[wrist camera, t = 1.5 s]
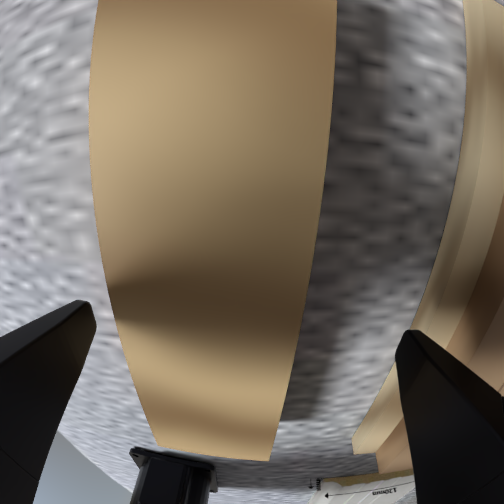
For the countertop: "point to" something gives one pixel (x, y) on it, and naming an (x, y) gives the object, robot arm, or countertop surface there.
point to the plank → (210, 203)
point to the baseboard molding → (364, 488)
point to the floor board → (461, 246)
